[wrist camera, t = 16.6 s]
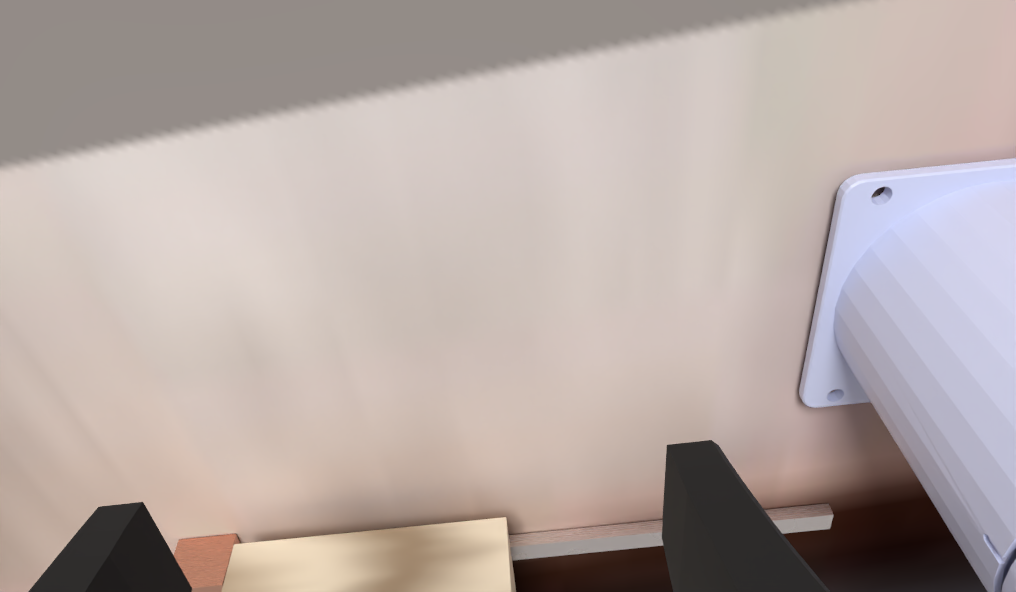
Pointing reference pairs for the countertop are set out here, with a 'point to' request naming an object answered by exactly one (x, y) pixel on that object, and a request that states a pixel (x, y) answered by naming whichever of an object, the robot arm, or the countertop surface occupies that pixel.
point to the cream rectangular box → (380, 561)
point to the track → (211, 555)
